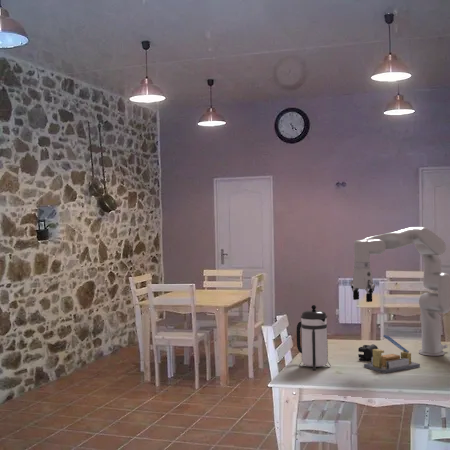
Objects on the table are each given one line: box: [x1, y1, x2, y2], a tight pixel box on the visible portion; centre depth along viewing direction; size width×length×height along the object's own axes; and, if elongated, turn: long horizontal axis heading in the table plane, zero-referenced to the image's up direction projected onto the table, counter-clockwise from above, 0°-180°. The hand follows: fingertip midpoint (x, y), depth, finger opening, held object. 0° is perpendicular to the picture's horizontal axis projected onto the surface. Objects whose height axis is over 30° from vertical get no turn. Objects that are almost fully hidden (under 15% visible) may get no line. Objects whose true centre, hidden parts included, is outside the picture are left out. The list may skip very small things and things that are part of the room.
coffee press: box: [296, 304, 331, 371], centre depth 301 cm, size 17×16×30 cm
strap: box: [383, 334, 410, 353], centre depth 298 cm, size 16×3×1 cm
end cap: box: [358, 344, 379, 362], centre depth 315 cm, size 10×7×7 cm
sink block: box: [363, 348, 421, 374], centre depth 297 cm, size 22×14×9 cm, turn 117°
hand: (362, 300), depth 302 cm, fingers open, 9 cm apart
